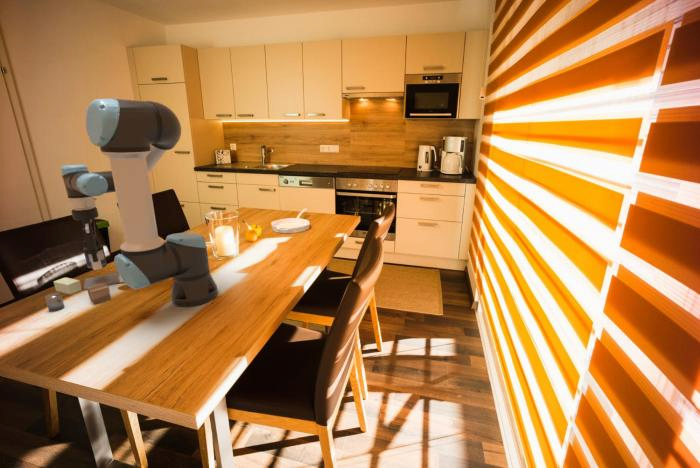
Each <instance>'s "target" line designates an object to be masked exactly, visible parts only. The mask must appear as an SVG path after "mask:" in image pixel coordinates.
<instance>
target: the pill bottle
mask: <svg viewBox="0 0 700 468" xmlns="http://www.w3.org/2000/svg"><path fill="white" fill-rule="evenodd" d="M95 241H96V246H97V251H98V252H99V256H100V261H101V265H102V269H103V268H105V267H106V266H107V265H108V262H107V259H106V254H105V249H104V246H103V244H101V243H100V239H99V238H98V237H97V238H95ZM83 245H84V246H83V248H82V249H83V250H82V251H83V254H84V258H85V262H86V266H87V269H89V270H92V271H94V270H93V266H92V262H91V258H90V254H89V255H87V253H88V248H87V244H86V240H85V239H84V240H83Z"/></svg>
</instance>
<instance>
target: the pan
mask: <svg viewBox="0 0 700 468" xmlns="http://www.w3.org/2000/svg"><path fill="white" fill-rule="evenodd" d="M308 210H309V209H308V208H303V209H302V210H301V211H300V212H299V213H298V215H297V216H296V217H290V218H288V217H287V218H280V219H278V220H273V221H271V222H270V225H271V230H272V231H273V232H275V233H278V234H297V233H302V232H305V231H307V230H309V228H310V225H311V223H310V221H309V220H308V219H304V218H302V217H301V216H302V215H303V213H305V212H307V211H308Z"/></svg>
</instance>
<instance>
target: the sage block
mask: <svg viewBox="0 0 700 468" xmlns="http://www.w3.org/2000/svg"><path fill="white" fill-rule="evenodd" d="M53 284H54V289H55V292H57V293H63V294H67V295H72V294H75V293H77V292H80V291H82V290H83V288H82V284H81V281H80V279H76V278H75V279H74V278H72V277H71V278H70V277H62V278H60V279H57V280H54V281H53Z"/></svg>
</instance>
